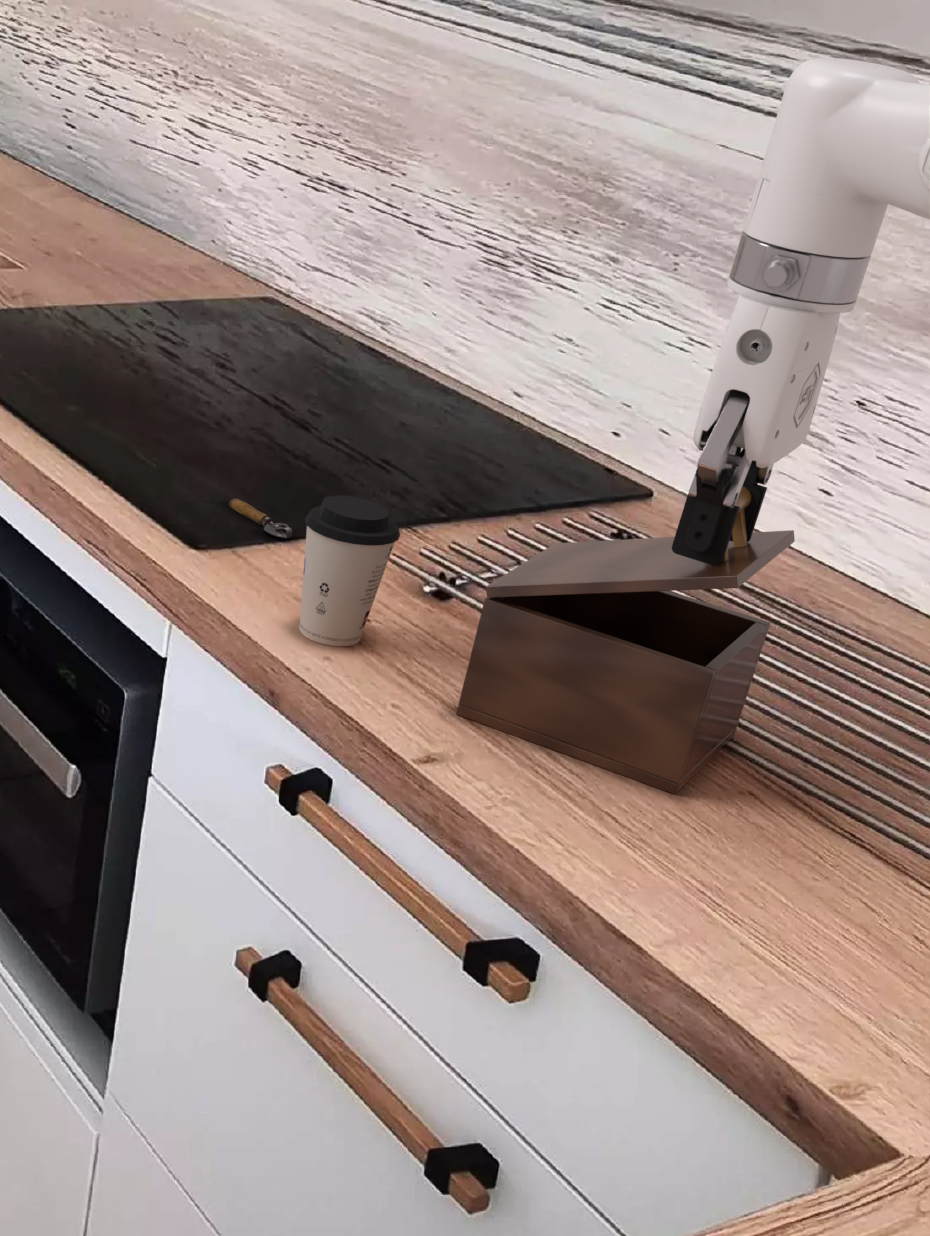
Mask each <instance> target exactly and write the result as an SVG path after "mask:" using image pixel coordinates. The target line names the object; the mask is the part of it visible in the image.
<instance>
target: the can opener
mask: <svg viewBox="0 0 930 1236" xmlns="http://www.w3.org/2000/svg"><path fill="white" fill-rule="evenodd" d="M228 506H229V508H231V509H232V510H234V511H236V512H237V513H239V514H240V515H242V516H244V517H246V518H248V519H250V520H251V521H253V522H255V523H256V524H258V525H259V526H260V527H263V531H264V532H266V533H268V534H270V535H271V536H275V537H279V538H283V539H285V540H286V539H290V538H292V537H293V529H292V528H291V527H289V526H290V525H289V524H287V523H284V522H274V520H273V519H272V518H271V516H270V515H269V514H266V513H264V512H261V511H260V510H258V509H257V508H255V507H253V506H252V505H251V504H250V503H247V502H246V501H243V500H242V499H239V498H236V497H234V498H231V499H230V500H229V502H228Z"/></svg>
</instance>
